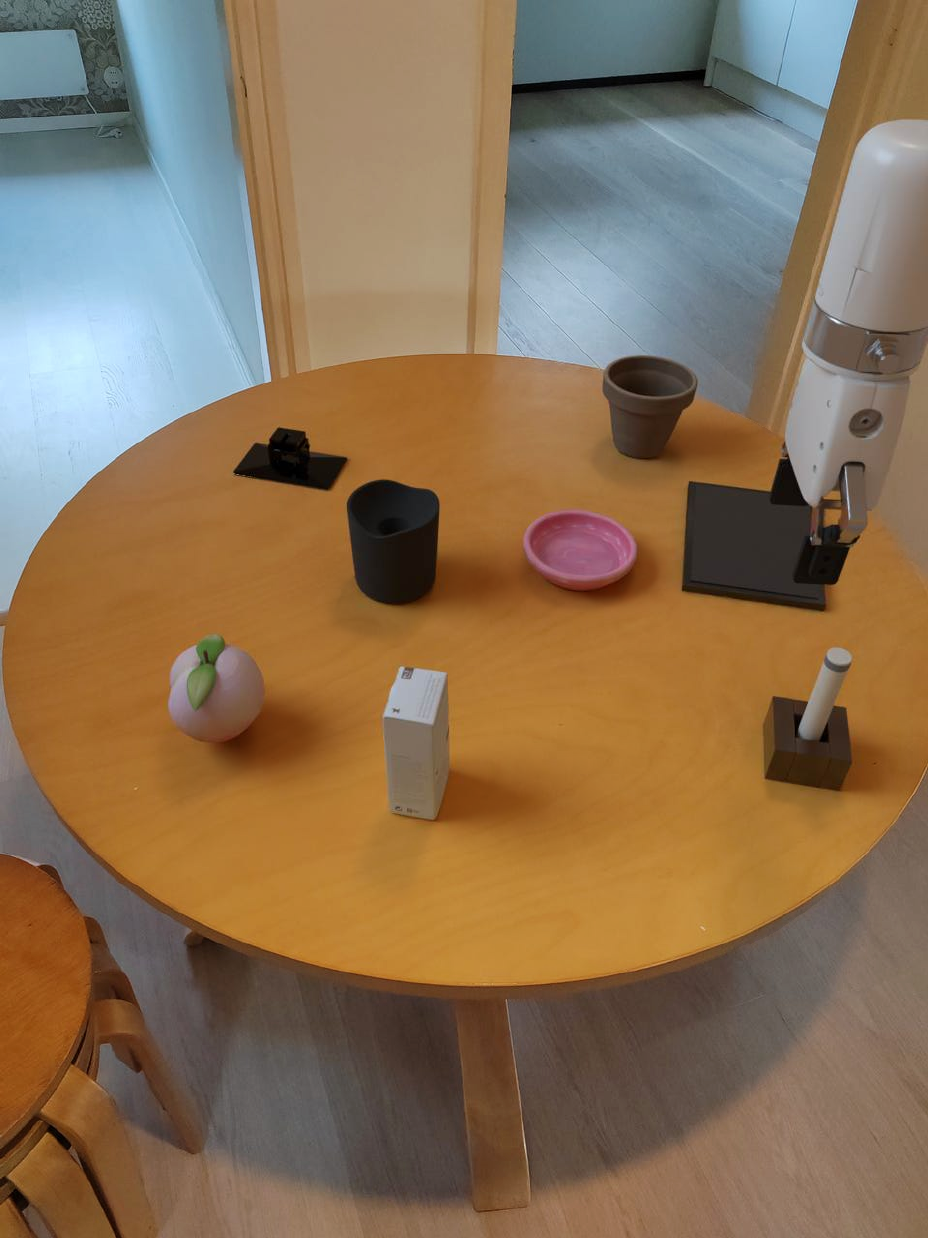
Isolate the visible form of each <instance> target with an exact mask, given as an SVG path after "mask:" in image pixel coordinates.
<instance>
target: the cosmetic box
mask: <svg viewBox="0 0 928 1238" xmlns="http://www.w3.org/2000/svg"><path fill="white" fill-rule="evenodd" d="M448 676H449V673H448V672H445V671H439V670H433V669H432V670H431V669H424V668H416V667H409V666H400V667H399V668H398V672H397V674H396V676H395V680H394V682H393V684H392V686H391V688H390V691H389V695H388V699H387V702H386V705H385V707H384V711H383V714H382V733H383V734H382V735H383V744H384V757H385V758H384V759H385V773H386V786H387V788H386V789H387V799H388V800H387V801H388V811H389V813H391V814H397V815H400V816H401V815H402V816H404V817H411V818H417V819H422V820H427V821H434V820H436V818H437V817H438V814H439V811H440V808H441V805H442V802H443V798H444V796H445V791H446V787H447V784H448V779H449V774H450V768H451V766H450V763H451V762H450V705H449V704H450V703H449V683H448V681H449V678H448Z"/></svg>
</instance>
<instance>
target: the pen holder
mask: <svg viewBox="0 0 928 1238" xmlns="http://www.w3.org/2000/svg"><path fill="white" fill-rule="evenodd" d="M346 501H347V502H346V514H347V522H348V523H347V524H348V531H349V540H350V548H351V556H352V557H351V558H352V564H353V571H354V576H355V583H356V585H357V587H358V588H359V590H360V591H361V593H363V594H364V595H365V596H367V597H368V598H370V599H372V600H374V601H376V602H379V603H383V604H390V605H397V604H398V605H400V604H406V603H411V602H413V601H416V600H418V599H420V598H422V597H423V596H425V595H426V594H428V592H429V591H430V590H431V589H432V588H433V586H434V584H435V581H436V575H437V564H438V563H437V561H438V546H439V545H438V543H439V527H440V524H439V523H440V507H441V505H440V504H441V503H440V499H439V497H438V495H437V493H435V492H434V491H433V490H432V489H428V488H422V487H414V486H409V485H407V484H404V483H401V482H398V481H397V480H392V479H383V478H381V479H375V480H371V481H369V482H365V483H364V484H362V485H360V486H358V487H357V488H356V489H354V490H353V491H352V492H351V493H350V495H349V496H348V498H347V500H346Z"/></svg>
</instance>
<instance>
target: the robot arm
mask: <svg viewBox="0 0 928 1238" xmlns="http://www.w3.org/2000/svg"><path fill="white" fill-rule="evenodd" d="M846 176H847V177H846V179H845V184H844V187H843V191H842V195H841V199H840V202H839V206H838V210H837V214H836V217H835V220H834V221H835V222H834V224H833V228H832V232H831V236H830V239H829V243H828V247H827V251H826V254H825V258H824V262H823V265H822V269H821V273H820V276H819V279H818V280H819V281H818V284H817V288H816V290H815V291H816V292H815V296H814V298H813V301H812V304H811V308H810V311H809V316H808V319H807V323H806V327H805V331H804V333H803V338H802V342H801V350H802V352H803V354H804V355H805V356H806V358H805V360H804V363H803V366H802V368H801V372H800V375H799V378H798V380H797V384H796V386H795V391H794V394H793V397H792V401H791V405H790V408H789V412H788V416H787V420H786V424H785V426H786V427H785V431H784V441H783V443H782V446H781V458H779V460H778V463H777V467H776V471H775V474H774V478H773V482H772V485H771V489H770V491H771V492H770V496H769V499H770V502H771V504H774V505H793V506H807V505H810V506H812V519H811V535H810V536H804V539H803V543H802V546H801V549H800V552H799V555H798V558H797V561H796V564H795V568H794V571H793V574H792V577H793V580H794V582H795V583H800V584H820V585H824V586H834V585H836V584H838V582H839V579H840V576H841V574H842V571H843V568H844V566H845V563H846V560H847V558H848V555H849V552H850V549H851V548H853V547H854V546H855V544H856V543H857V542H858V540H859V539H860V537H861V534H862V533H863V532H864V530H865V529H866V528H867V526H868V522H869V520H868V512H871V511H873V510H874V509H875V508H876V507H877V506H878V503H879V501H880V499H881V496H882V493H883V490H884V487H885V484H886V480H887V478H888V475H889V471H890V469H891V465H892V462H893V458H894V455H895V452H896V448H897V445H898V442H899V438H900V434H901V430H902V428H903V427H902V426H903V422H904V418H905V413H906V409H907V404H908V399H909V393H910V385H911V377H910V376H912V375H914V374H915V373H916V372H917V371H918V369H919V367H920V365H921V362H922V359H923V357H924V354H925V351H926V348H927V346H928V119H917V118H915V119H914V118H911V119H910V118H907V119H896V120H891V121H886V122H882V123H879V124H877V125H875V126H874V127H872V128H870V129H869V130H868V131H866V133H865V134H863V136H862V137H861V138H860V140H859V142H858V143H857V145H856V147H855V149H854V153H853V155H852V158H851V161H850V165H849V169H848V172H847V175H846ZM831 492H839V498H840V499H834V498H833V499H830V498H826V497H827V496H828V495H829V494H830V493H831ZM826 510H834V511H836V510H837V511H840V517H839V518H838V520H837V523H836V524H832V523H831V524H829V525H827V526H825V517H826V516H825V515H826Z"/></svg>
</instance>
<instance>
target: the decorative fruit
mask: <svg viewBox="0 0 928 1238" xmlns="http://www.w3.org/2000/svg"><path fill="white" fill-rule="evenodd" d="M169 684H170V688H171V689H170V694H169V697H168V701H167V703H168V705H167V706H168V707H167V709H168V713H169V716H170V718H171V720H172V721H173V723H174V724H175V726H176V727H177V728H178V729H179V730H180V731H181V732H182V733H183V734H185V735H186V736H188V737H190V738H191V739H194V740H196V741H199V742H203V743H209V744H210V743H211V744H212V743H213V744H214V743H215V744H216V743H221V742H225V741H229V740H231V739H233V738H236V737H237V736H238V735H240V734H241V733H243V732H244V731H245V730H246V729H248V727H249V726H251V724H252V723H253V722H254V721H255V720H256V719H257V717H258V715H259V714H260V712H261V710H262V708H263V704H264V702H265V701H264V700H265V691H266V690H265V680H264V677H263V674H262V671H261V669H260V667H259V664H258V662H257V661H256V660H255V659H254V658H253V657H252V656H251V655H250V654H249V653H248V652H247V651H246V650H243V649H242V648H240V647H237V646H235V645H231V644H226V641H225V638H224V637H223V636H222V635H220V634H218V633H211V634H207V635H206V636H204V637H203V638H202V639H201V640H200V641H199V642H198V643H197V644H196V645H193V646H190V647H189V648H187V649H185V650H184V651H182V652H181V653H180V654H179V655H178V656H177V658H176V659H175V661H174V662H173V664H172V667H171V668H170V672H169Z"/></svg>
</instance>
